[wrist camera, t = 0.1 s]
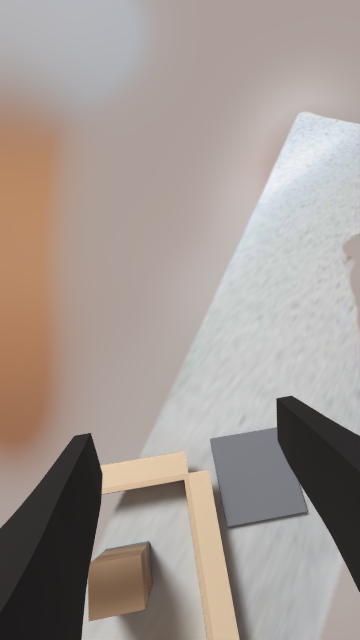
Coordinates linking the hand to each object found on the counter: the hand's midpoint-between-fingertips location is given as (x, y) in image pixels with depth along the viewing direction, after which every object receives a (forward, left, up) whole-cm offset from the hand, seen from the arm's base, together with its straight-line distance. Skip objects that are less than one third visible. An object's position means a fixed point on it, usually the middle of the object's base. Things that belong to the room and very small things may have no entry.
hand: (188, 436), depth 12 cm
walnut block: (-9, +8, -32) cm, 34 cm away
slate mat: (-2, -9, -32) cm, 33 cm away
